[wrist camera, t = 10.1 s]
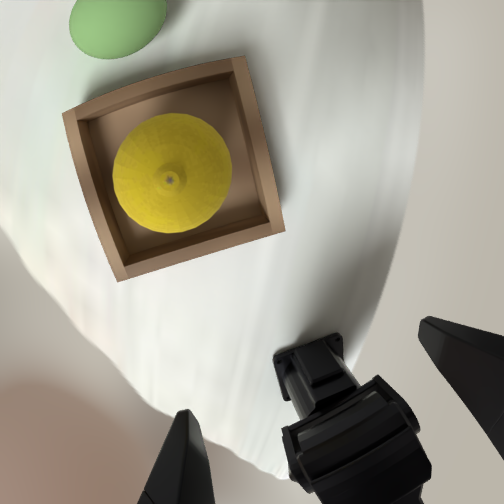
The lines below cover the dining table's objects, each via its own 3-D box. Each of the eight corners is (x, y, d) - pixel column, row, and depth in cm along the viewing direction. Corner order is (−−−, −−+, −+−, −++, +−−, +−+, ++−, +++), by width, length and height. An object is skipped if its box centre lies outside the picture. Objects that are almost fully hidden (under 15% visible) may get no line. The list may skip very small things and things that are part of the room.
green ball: (176, 53, 14) (173, 18, 9) (92, 81, 14) (58, 60, 9) (161, -11, 12) (157, -56, 7) (82, 16, 12) (53, -18, 6)
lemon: (235, 180, 18) (276, 206, 10) (159, 227, 18) (148, 285, 10) (191, 104, 15) (201, 71, 8) (112, 154, 15) (63, 161, 8)
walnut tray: (273, 220, 20) (285, 230, 17) (124, 266, 18) (117, 282, 16) (237, 66, 15) (244, 55, 13) (76, 116, 14) (61, 113, 12)
